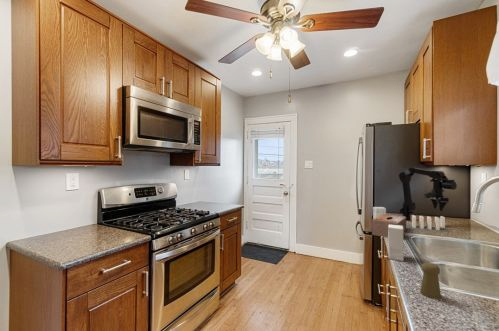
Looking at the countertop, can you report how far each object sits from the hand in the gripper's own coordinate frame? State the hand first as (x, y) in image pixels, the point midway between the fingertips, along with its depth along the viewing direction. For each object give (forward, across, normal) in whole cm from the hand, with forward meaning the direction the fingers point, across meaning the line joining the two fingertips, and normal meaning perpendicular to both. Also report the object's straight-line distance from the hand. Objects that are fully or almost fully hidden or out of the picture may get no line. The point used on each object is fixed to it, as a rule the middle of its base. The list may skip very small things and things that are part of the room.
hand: (437, 209), depth 171 cm
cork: (+14, +104, -42) cm, 113 cm away
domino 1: (+12, +6, -12) cm, 18 cm away
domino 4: (+13, -2, +4) cm, 14 cm away
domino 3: (+12, +7, -3) cm, 15 cm away
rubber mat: (+13, +6, -9) cm, 17 cm away
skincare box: (+14, +70, -44) cm, 83 cm away
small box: (+14, -14, -35) cm, 40 cm away
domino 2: (+12, +6, -7) cm, 16 cm away
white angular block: (+12, +5, -16) cm, 21 cm away
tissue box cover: (+14, +23, -36) cm, 45 cm away
